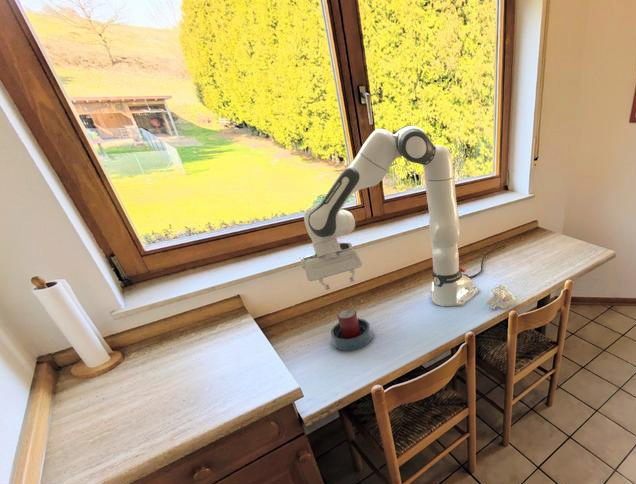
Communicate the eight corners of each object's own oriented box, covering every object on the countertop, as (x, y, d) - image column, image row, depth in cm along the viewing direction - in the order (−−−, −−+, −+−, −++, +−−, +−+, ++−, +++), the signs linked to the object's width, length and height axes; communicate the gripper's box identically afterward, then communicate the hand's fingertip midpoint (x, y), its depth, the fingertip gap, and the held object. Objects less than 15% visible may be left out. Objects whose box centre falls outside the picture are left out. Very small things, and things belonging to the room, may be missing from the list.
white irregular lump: (516, 307, 149) (500, 291, 147) (501, 318, 153) (485, 303, 151) (520, 293, 159) (505, 278, 157) (506, 304, 163) (491, 290, 161)
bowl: (358, 325, 143) (356, 314, 140) (379, 339, 135) (377, 327, 132) (326, 341, 134) (323, 329, 131) (347, 357, 126) (344, 345, 123)
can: (355, 332, 138) (349, 306, 132) (364, 339, 134) (359, 313, 129) (340, 340, 134) (333, 314, 128) (349, 347, 130) (343, 320, 124)
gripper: (298, 257, 129) (312, 293, 130) (355, 242, 137) (367, 276, 138) (299, 259, 134) (312, 294, 136) (353, 245, 143) (365, 278, 144)
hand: (340, 285), depth 137 cm, fingers open, 8 cm apart
